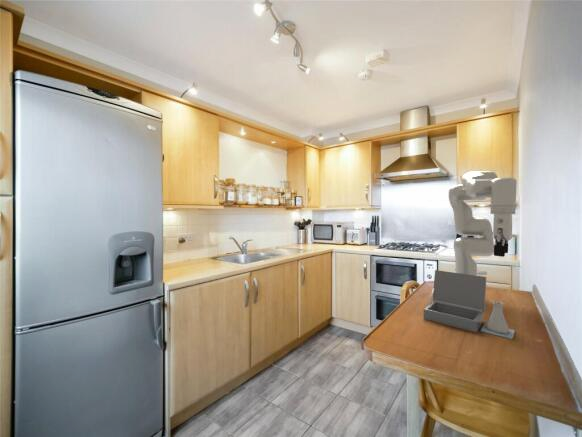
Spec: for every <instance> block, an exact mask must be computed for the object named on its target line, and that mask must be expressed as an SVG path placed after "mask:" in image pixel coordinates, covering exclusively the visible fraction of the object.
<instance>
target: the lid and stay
mask: <svg viewBox="0 0 582 437" xmlns="http://www.w3.org/2000/svg"><path fill="white" fill-rule="evenodd" d="M433 280H434V281H433V288H432V291H431V293H430V294H431V295H430V299H429V302H428V303H427V306H429V305H430V304H431V303H432V302H434V300H437V301H442V302H446V303H451V304H456V305H461V306H466V307H470V308H475V309H480V310H483V313H485V312H486V310H485V309H486V292H487V291H486V290H487V276H481V275H477V276H475V275H468V274H460V273H455V272H453V271H452V272H450V271H445V270H437V269H435V270H434V278H433Z"/></svg>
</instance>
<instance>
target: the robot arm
mask: <svg viewBox="0 0 582 437" xmlns="http://www.w3.org/2000/svg"><path fill="white" fill-rule="evenodd" d="M460 183H461V184H457V185H453V186H451V187H450V188H449V190H448V201H449V204H450V206H451V208H452V212H453V217H454V219H453V220H454V228H455V232H456V234H457V235H460V236H462V237H458V238H456V239H454V241H453V249H454V250H453V251H454V259H455V263H454V264H455V265H454V273H460V274H468V275H475V276H478V265H477V262H476V261H475V260H474V258H473V257H491V256H495V257H502V258H504V257H505V254H508V253H509V242H510V241H511V240H512V239H513V215H516V209H517V208H516V206H517V180H516V178H514V177H499V178H498V175H497V174H496V172H494V171H491V170H487V171H486V170H483V171H470V172H469V171H468V172H467V173H466V172H465V174H463V176H462V177H461V182H460ZM489 198H490V215H493V222H492V223H493V225H492V224H491V222H490V220H489V219H487V218H484V217H474V215H473V210H472V207H471V206H470V205H469V204H468V203H467V202H465V201H483V200H486V199H489ZM464 236H465V237H464ZM466 236H469V237H466ZM471 236H472V237H471ZM473 236H474V237H473ZM475 236H476V237H475Z"/></svg>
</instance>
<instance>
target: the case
mask: <svg viewBox="0 0 582 437" xmlns="http://www.w3.org/2000/svg"><path fill="white" fill-rule="evenodd" d="M483 317H484V312H483V310H480V309H475V308H470V307H466V306H461V305H456V304H451V303H446V302H442V301H437V300H434V301H432V302H431V304H430V305H429V306H428V305H427V306H426V307H425V308H423V320H426V321H430V322H434V323H438V324H442V325H445V326H450V327H453V328H458V329H462V330H466V331H470V332H473V333H477V332H478V330H479V329H480V328H481V325H482V324H483V322H484V321H483V320H484V318H483Z"/></svg>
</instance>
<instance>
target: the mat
mask: <svg viewBox="0 0 582 437" xmlns="http://www.w3.org/2000/svg"><path fill="white" fill-rule="evenodd" d="M486 324H487V323H484V324H483V325H482V327H481V329H480V332H483V333H487V334H490V335H494V336H498V337H501V338H506V339H508V340H513V339H514V335H515V333H516V332H515V331H516V330H515V329H510V328H509V331H510V332H509V333H507V334H504V333H498V332H494V331H491V330H488V329H487V328H486V327H485V326H486Z"/></svg>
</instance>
